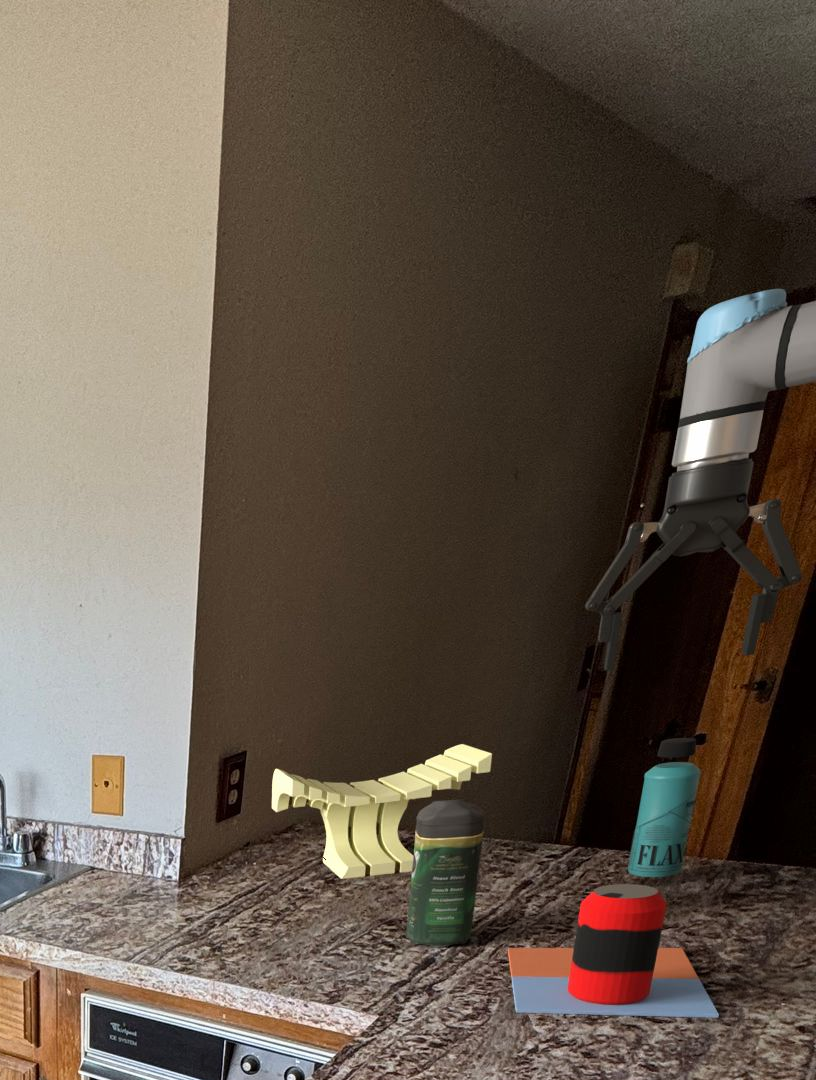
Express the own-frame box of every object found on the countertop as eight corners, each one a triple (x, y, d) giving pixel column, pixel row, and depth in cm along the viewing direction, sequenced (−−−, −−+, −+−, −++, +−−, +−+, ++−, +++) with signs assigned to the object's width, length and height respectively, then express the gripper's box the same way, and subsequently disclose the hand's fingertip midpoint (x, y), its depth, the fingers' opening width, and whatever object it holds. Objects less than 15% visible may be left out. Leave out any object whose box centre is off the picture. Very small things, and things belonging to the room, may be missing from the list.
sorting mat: (681, 950, 122) (682, 947, 121) (718, 1018, 105) (719, 1014, 105) (507, 950, 130) (508, 947, 130) (515, 1012, 113) (516, 1009, 113)
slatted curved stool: (445, 843, 180) (455, 741, 172) (479, 864, 166) (492, 753, 158) (270, 863, 186) (272, 765, 179) (289, 884, 172) (292, 779, 165)
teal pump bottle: (623, 887, 145) (649, 745, 136) (624, 875, 150) (648, 737, 141) (681, 887, 141) (710, 741, 133) (680, 875, 146) (708, 733, 137)
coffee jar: (474, 948, 133) (490, 807, 125) (407, 949, 136) (419, 812, 128) (467, 926, 141) (482, 792, 133) (404, 928, 144) (415, 798, 136)
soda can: (551, 995, 115) (566, 894, 110) (594, 977, 118) (611, 878, 113) (620, 1011, 109) (640, 904, 104) (664, 992, 111) (686, 888, 106)
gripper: (848, 438, 111) (801, 644, 120) (576, 488, 123) (552, 672, 132) (870, 433, 105) (818, 649, 114) (582, 486, 117) (557, 678, 126)
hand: (676, 662), depth 123 cm, fingers open, 13 cm apart
